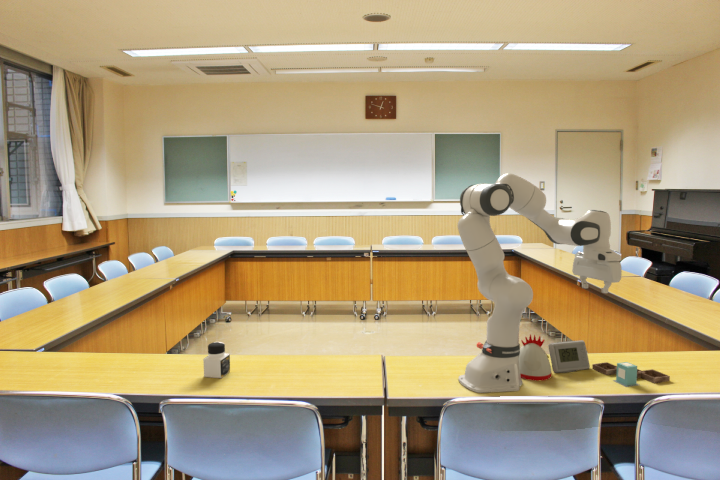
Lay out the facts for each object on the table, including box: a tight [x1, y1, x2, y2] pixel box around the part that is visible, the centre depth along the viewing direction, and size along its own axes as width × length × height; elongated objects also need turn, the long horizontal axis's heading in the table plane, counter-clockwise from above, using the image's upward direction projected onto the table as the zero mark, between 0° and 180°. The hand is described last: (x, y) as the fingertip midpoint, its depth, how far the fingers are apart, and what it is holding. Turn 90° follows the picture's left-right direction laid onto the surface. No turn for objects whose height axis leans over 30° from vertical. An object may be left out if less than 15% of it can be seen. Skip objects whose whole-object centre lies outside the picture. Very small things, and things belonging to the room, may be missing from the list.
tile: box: [612, 379, 640, 388], centre depth 165 cm, size 6×6×1 cm
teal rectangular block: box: [615, 361, 638, 386], centre depth 165 cm, size 4×4×7 cm
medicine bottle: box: [202, 341, 231, 379], centre depth 175 cm, size 7×7×12 cm
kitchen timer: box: [519, 333, 552, 382], centre depth 175 cm, size 14×14×15 cm
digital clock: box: [547, 339, 591, 374], centre depth 179 cm, size 16×9×11 cm, turn 93°
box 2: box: [615, 367, 645, 379], centre depth 173 cm, size 7×7×2 cm
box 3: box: [638, 368, 671, 384], centre depth 169 cm, size 7×7×2 cm
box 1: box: [591, 361, 617, 376], centre depth 176 cm, size 7×7×2 cm
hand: (594, 290), depth 175 cm, fingers open, 8 cm apart
